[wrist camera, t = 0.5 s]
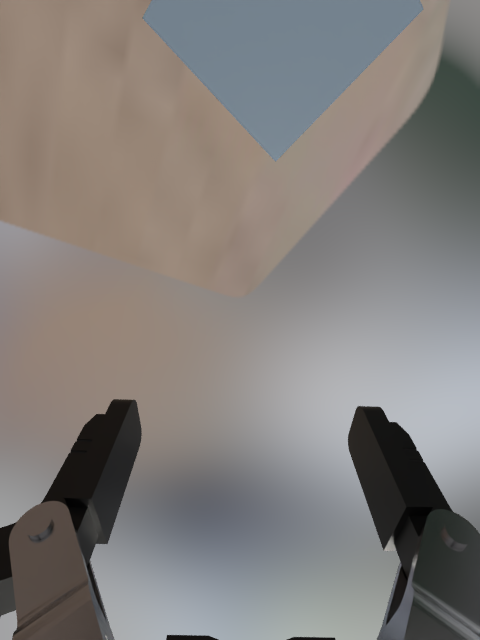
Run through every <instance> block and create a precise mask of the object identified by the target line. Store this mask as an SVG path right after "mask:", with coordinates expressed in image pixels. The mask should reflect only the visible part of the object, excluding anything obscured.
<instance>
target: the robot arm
mask: <svg viewBox="0 0 480 640" xmlns="http://www.w3.org/2000/svg"><path fill="white" fill-rule="evenodd" d="M140 442H141V424H140V418H139V413H138V408H137V402H136V401H135V400H118V399H114V400H113V401H112V402H111V404H110V406H109V407H108V410H107V412H106V414H96V415H95V416H94V417H93V418H92V419H91V420H90V421H89V422H88V423H87V424H85V425H84V427H83V429H82V431H81V433H80V435H79V436H78V438H77V442H75V443H74V445H73V447H72V449H71V453H69V454H68V457H67V458H66V460H65V462H64V464H63V466H62V467H61V469H60V471H59V473H58V475H57V477H56V478H55V480H54V482H53V484H52V486H51V487H50V489H49V491H48V493H47V495H46V496H45V498H44V500H43V501H42V502H41V504H39V505H36V506H35V507H33V508H32V509H30V510H29V511H27V512H26V513H25V514H24V515H23V516H22V517H21V518H20V519H19V520H18V521H17V522H16V523H14V524H11V525H8V526H5V527H2V528H0V616H1V615H4V614H6V613H9V612H12V611H15V610H16V613H17V630H16V631H15V632H14V633H13V638H12V640H114V637H113V634H112V631H111V629H110V626H109V622H108V619H107V616H106V612H105V609H104V605H103V602H102V599H101V595H100V592H99V589H98V586H97V582H96V579H95V575H94V572H93V568H92V565H91V562H90V558H91V555H92V552H93V549H94V547H95V544H107V543H108V540H109V538H110V534H111V531H112V528H113V525H114V522H115V519H116V516H117V513H118V510H119V507H120V504H121V501H122V498H123V495H124V492H125V489H126V486H127V483H128V480H129V477H130V474H131V471H132V468H133V465H134V461H135V459H136V456H137V452H138V450H139V446H140ZM348 446H349V451H350V454H351V457H352V460H353V463H354V466H355V469H356V472H357V475H358V478H359V480H360V483H361V486H362V489H363V492H364V495H365V498H366V501H367V504H368V506H369V509H370V512H371V515H372V518H373V521H374V524H375V527H376V529H377V532H378V535H379V538H380V541H381V544H382V547H383V550H384V551H397V553H398V556H399V558H400V561H401V562H400V564H399V566H398V570H397V573H396V577H395V581H394V584H393V588H392V592H391V595H390V599H389V602H388V606H387V610H386V613H385V617H384V620H383V624H382V627H381V630H380V633H379V636H378V638H377V640H480V534H479V532H478V531H477V530H476V528H475V527H474V526H473V525H472V524H471V523H470V522H469V521H467V520H466V519H465V518H463V517H462V516H460V515H459V514H456V513H454V512H453V511H452V510H451V508H450V506H449V505H448V503H447V501H446V499H445V498H444V496H443V494H442V492H441V491H440V489H439V487H438V485H437V484H436V482H435V480H434V478H433V476H432V475H431V473H430V471H429V469H428V468H427V466H426V464H425V463H424V462H423V459H422V457H421V455H420V453H419V452H418V451H417V450H416V447H415V445H414V443H413V441H412V439H411V438H410V436H409V434H408V433H407V432H406V431H404V429H403V428H401V427H400V426H399V425H398V424H397V423H396V422H389V421H388V419H387V417H386V415H385V413H384V411H383V410H382V409H381V408H380V407H365V406H364V407H363V406H359V407H357V409H356V411H355V415H354V418H353V421H352V425H351V428H350V431H349V435H348ZM166 640H218V639H215V638H213V637H210V636H192V635H191V636H190V635H189V636H187V635H167V639H166ZM287 640H335V638H316V637H293V638H290V639H287Z"/></svg>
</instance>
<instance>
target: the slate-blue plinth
mask: <svg viewBox="0 0 480 640" xmlns="http://www.w3.org/2000/svg"><path fill="white" fill-rule="evenodd" d="M422 10H423V7H422V4H421V2H420V0H152V1H151V3H150V5H149V7H148V8H147V10H146V12H145V14H144V16H143V19H144V20H145V21H146V22H147V24H148V25H149V26H150V27H151V28H152V29H153V30H154V31H155V32H156V33H157V34H158V35H159V36H160V38H161V39H162V40H163V41H164V42H165V43H166V44H167V45H168V46H169V47H170V48H171V49H172V51H173V52H174V53H175V54H176V55H177V56H178V57H179V58H180V59H181V60H182V61H183V62H184V63H185V65H186V66H187V67H188V68H189V69H190V70H191V71H192V72H193V73H194V74H195V75H196V76H197V77H198V79H199V80H200V81H201V82H202V83H203V84H204V85H205V86H206V87H207V88H208V89H209V90H210V91H211V93H212V94H213V95H214V96H215V97H216V98H217V99H218V100H219V101H220V102H221V103H222V104H223V106H224V107H225V108H226V109H227V110H228V111H229V112H230V113H231V114H232V115H233V116H234V117H235V118H236V120H237V121H238V122H239V123H240V124H241V125H242V126H243V127H244V128H245V129H246V130H247V131H248V132H249V134H250V135H251V136H252V137H253V138H254V139H255V140H256V141H257V142H258V143H259V144H260V145H261V146H262V148H263V149H264V150H265V151H266V152H267V153H268V154H269V155H270V156H271V157H272V158H273V159H274V161H275V162H276V161H277V160H278V159H279V158H280V157H281V155H282V154H283V153H284V152H285V151H286V150H287V149H288V148H289V147H290V146H291V145H292V144H293V143H294V142H295V141H296V140H297V139H298V138H299V137H300V136H301V135H302V134H303V133H304V132H305V131H306V130H307V129H308V128H309V127H310V126H311V125H312V124H313V122H314V121H315V120H316V119H317V118H318V117H319V116H320V115H321V114H322V113H323V112H324V111H325V110H326V109H327V108H328V107H329V106H330V105H331V104H332V103H333V102H334V101H335V100H336V99H337V98H338V97H339V96H340V95H341V94H342V93H343V92H344V91H345V90H346V88H347V87H348V86H349V85H350V84H351V83H352V82H353V81H354V80H355V79H356V78H357V77H358V76H359V75H360V74H361V73H362V72H363V71H364V70H365V69H366V68H367V67H368V66H369V65H370V64H371V63H372V62H373V61H374V60H375V59H376V58H377V57H378V56H379V54H380V53H381V52H382V51H383V50H384V49H385V48H386V47H387V46H388V45H389V44H390V43H391V42H392V41H393V40H394V39H395V38H396V37H397V36H398V35H399V34H400V33H401V32H402V31H403V30H404V29H405V28H406V27H407V26H408V25H409V24H410V23H411V21H412V20H413V19H414V18H415V17H416V16H417V15H418V14H419V13H420V12H421V11H422Z"/></svg>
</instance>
